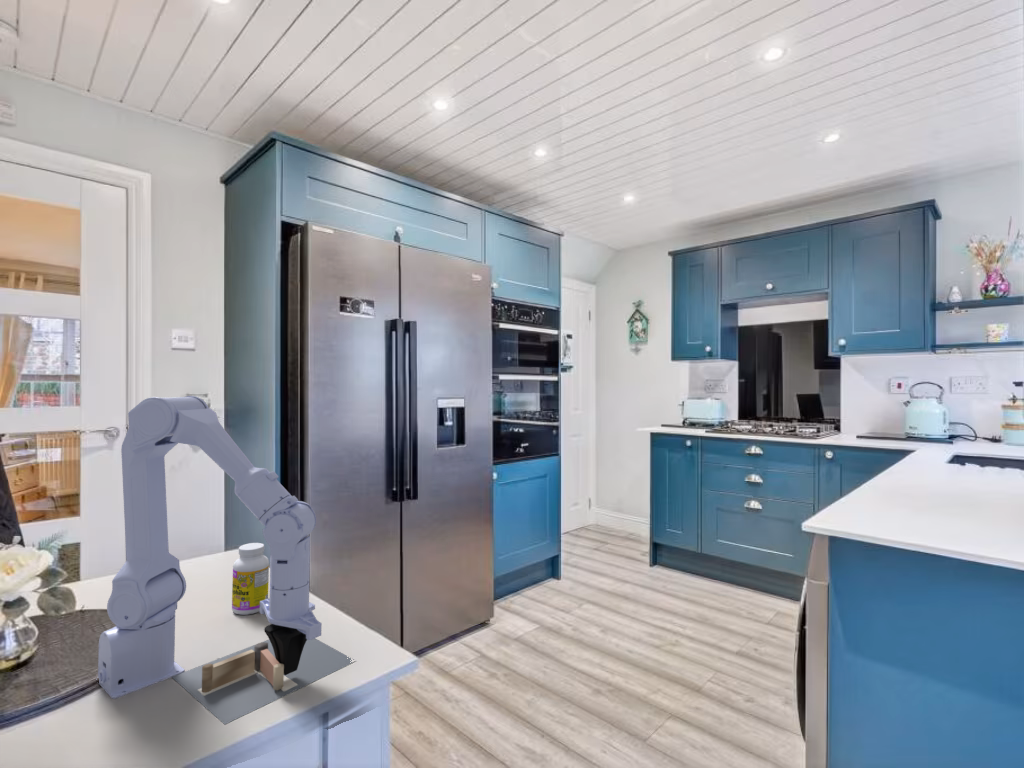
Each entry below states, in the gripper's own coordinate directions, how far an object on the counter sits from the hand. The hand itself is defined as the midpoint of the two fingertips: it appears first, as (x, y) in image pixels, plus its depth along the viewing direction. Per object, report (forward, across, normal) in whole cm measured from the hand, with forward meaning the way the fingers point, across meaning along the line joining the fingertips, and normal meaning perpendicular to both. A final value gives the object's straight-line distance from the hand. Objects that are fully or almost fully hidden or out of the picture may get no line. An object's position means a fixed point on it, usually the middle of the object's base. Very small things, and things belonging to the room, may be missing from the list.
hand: (288, 670), depth 82 cm
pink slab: (+1, +1, +2) cm, 2 cm away
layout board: (+2, +5, +1) cm, 5 cm away
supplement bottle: (+2, +30, -9) cm, 32 cm away
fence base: (+1, +6, +5) cm, 8 cm away
